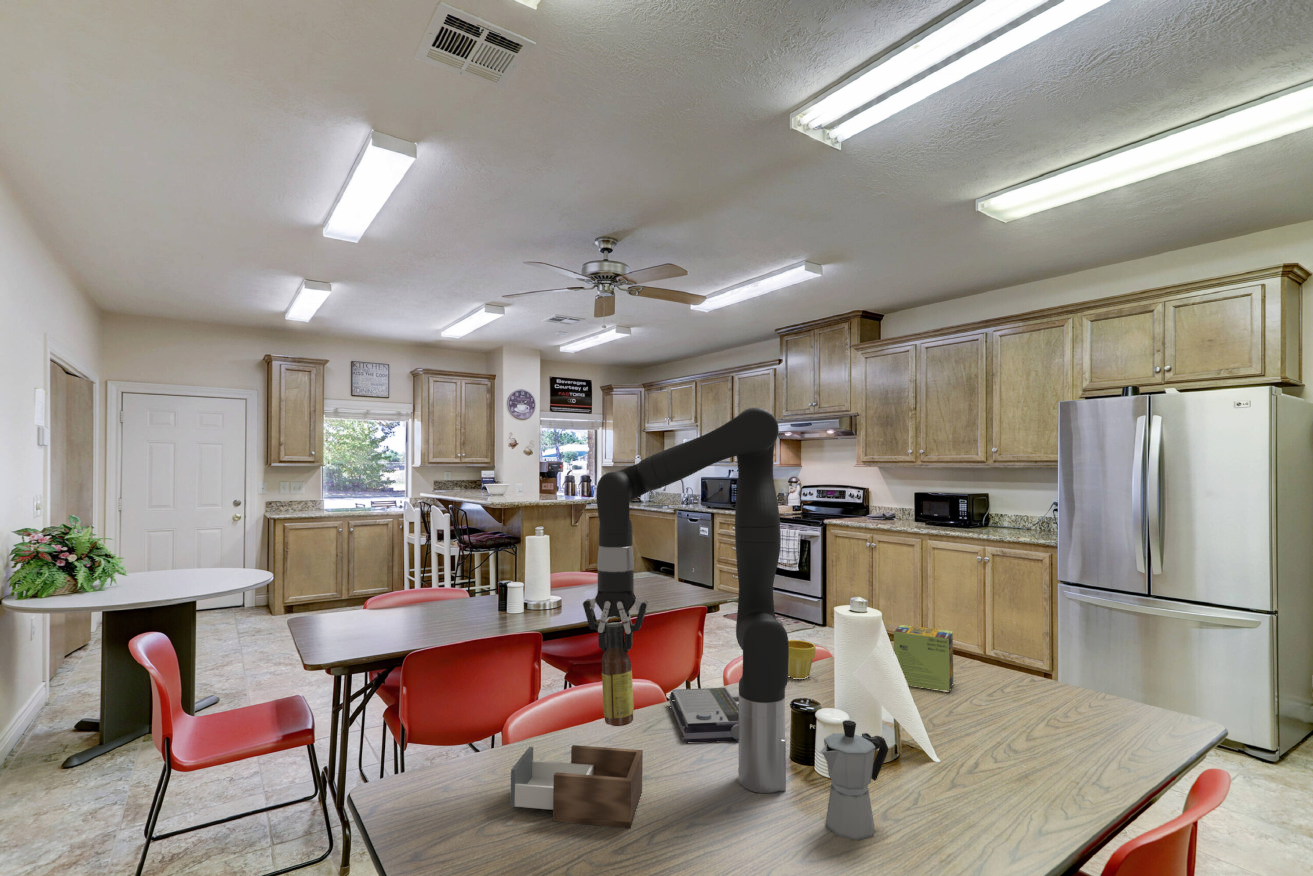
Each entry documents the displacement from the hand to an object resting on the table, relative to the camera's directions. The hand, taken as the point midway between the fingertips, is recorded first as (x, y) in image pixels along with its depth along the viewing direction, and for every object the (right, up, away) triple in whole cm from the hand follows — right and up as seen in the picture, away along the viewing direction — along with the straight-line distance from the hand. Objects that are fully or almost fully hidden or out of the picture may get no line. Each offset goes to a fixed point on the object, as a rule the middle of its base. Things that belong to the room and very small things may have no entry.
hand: (615, 650), depth 133 cm
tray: (-11, -23, -13) cm, 28 cm away
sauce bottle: (+1, -15, -1) cm, 15 cm away
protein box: (+88, -29, +57) cm, 109 cm away
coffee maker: (+44, -25, -20) cm, 54 cm away
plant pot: (+52, -29, +63) cm, 86 cm away
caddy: (-2, -24, -14) cm, 28 cm away
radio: (+23, -27, +26) cm, 44 cm away
